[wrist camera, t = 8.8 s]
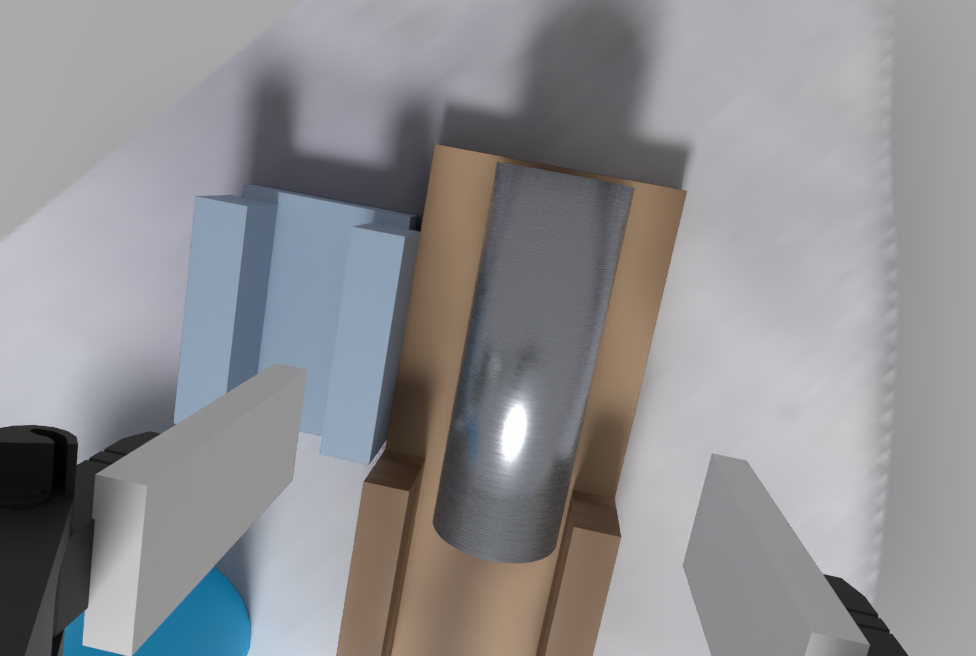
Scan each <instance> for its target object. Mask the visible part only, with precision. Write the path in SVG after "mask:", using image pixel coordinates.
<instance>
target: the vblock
mask: <svg viewBox="0 0 976 656" xmlns="http://www.w3.org/2000/svg"><path fill="white" fill-rule="evenodd" d="M417 217H418V216H417V215H411V214H406V213H401V212H396V211H391V210H385V209H380V208H375V207H370V206H364V205H359V204H354V203H349V202H344V201H338V200H333V199H328V198H323V197H318V196H312V195H307V194H302V193H297V192H291V191H286V190H281V189H276V188H271V187H265V186H260V185H244V193H243V197H238V196H233V195H222V196H196V199H195V209H194V219H193V229H192V239H191V250H190V260H189V270H188V280H187V290H186V301H185V311H184V321H183V331H182V341H181V351H180V362H179V372H178V382H177V392H176V402H175V413H174V423H176V424H178V423H179V422H181V421H183V420H184V419H186V418H187V417H189V416H191V415H192V414H194V413H195V412H197V411H199V410H200V409H202V408H204V407H205V406H207V405H208V404H210V403H212V402H213V401H215V400H216V399H218V398H220V397H221V396H223V395H224V394H226V393H228V392H229V391H231V390H233V389H234V388H236V387H237V386H239V385H241V384H242V383H244V382H245V381H247V380H249V379H250V378H252V377H254V376H255V375H257V374H258V373H260V372H262V371H263V370H265V369H266V368H268V367H270V366H271V365H273V364H275V363H277V364H282V365H287V366H292V367H297V368H301V369H306V370H307V377H306V384H305V391H304V399H303V406H302V413H301V421H300V428H299V431H300V432H304V433H309V434H314V435H318V436H322V440H321V447H320V454H321V455H325V456H330V457H335V458H339V459H344V460H349V461H353V462H358V463H363V464H367V465H369V464H370V463H371V461H372V460H373V458H374V457H375V455H376V454H377V453H378V451H379V450H380V448H381V447H382V445H383V444H384V442H385V441H386V439H387V435H388V429H389V423H390V417H391V411H392V405H393V398H394V392H395V386H396V380H397V374H398V368H399V362H400V355H401V349H402V343H403V337H404V331H405V325H406V319H407V312H408V306H409V300H410V294H411V288H412V282H413V276H414V269H415V263H416V257H417V251H418V245H419V239H420V233H421V232H419V231H415V229H416V223H417Z"/></svg>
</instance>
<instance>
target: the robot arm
mask: <svg viewBox="0 0 976 656" xmlns="http://www.w3.org/2000/svg"><path fill="white" fill-rule="evenodd" d="M306 377H307V370H306V369H301V368H297V367H292V366H287V365H282V364H277V363H275V364H273V365H271V366H270V367H268V368H266V369H265V370H263V371H262V372H260V373H258V374H257V375H255V376H254V377H252V378H250V379H249V380H247V381H245V382H244V383H242V384H241V385H239V386H237V387H236V388H234V389H233V390H231V391H229V392H228V393H226V394H224V395H223V396H221V397H220V398H218V399H216V400H215V401H213V402H212V403H210V404H208V405H207V406H205V407H204V408H202V409H200V410H199V411H197V412H195V413H194V414H192V415H191V416H189V417H187V418H186V419H184V420H183V421H181V422H179V423H178V424H176V425H174V426H173V427H171V428H170V429H168V430H166V431H165V432H163V433H162V434H159V433H155V432H150V431H149V432H146V433H142V434H138V435H134V436H130V437H127V438H123V439H121V440H120V441H118V442H116V443H114V444H113V445H111V446H109V447H107V448H106V449H105V450H104V452H103V451H101V452H99V453H97V454H95V455H94V456H92V457H90V459H89V461H88V460H85V461H83V462H81V463H80V464H78V465H77V451H78V442H77V437H76V436H74V435H73V434H71V433H70V432H68V431H65V430H62V429H58V428H55V427H48V426H38V425H23V426H9V427H3V428H0V656H63V650H64V636H65V628H66V627H67V626H68V625H69V624H70V623H72V622H73V621H74V620H75V619H76V618H77V617H78V616H79V615H80V614H82V613H83V612H84V611H85V617H84V631H83V644H82V645H83V646H88V647H92V648H96V649H100V650H105V651H109V652H113V653H117V654H122V655H126V656H132V655H133V654H134V653H135V652H136V651H137V650H138V649H139V648H140V647H141V646H142V645H143V643H144V642H145V641H146V640H147V639H148V638H149V637H150V636H151V635H152V634H153V632H154V631H155V630H156V629H157V628H158V627H159V626H160V625H161V624H162V623H163V622H164V620H165V619H166V618H167V617H168V616H169V615H170V614H171V613H172V612H173V611H174V609H175V608H176V607H177V606H178V605H179V604H180V603H181V602H182V601H183V600H184V599H185V597H186V596H187V595H188V594H189V593H190V592H191V591H192V590H193V589H194V588H195V587H196V585H197V584H198V583H199V582H200V581H201V580H202V579H203V578H204V577H205V576H206V574H207V573H208V572H209V571H210V570H211V569H212V568H213V567H214V566H215V565H216V564H217V562H218V561H219V560H220V559H221V558H222V557H223V556H224V555H225V554H226V553H227V551H228V550H229V549H230V548H231V547H232V546H233V545H234V544H235V543H236V542H237V541H238V539H239V538H240V537H241V536H242V535H243V534H244V533H245V532H246V531H247V530H248V529H249V527H250V526H251V525H252V524H253V523H254V522H255V521H256V520H257V519H258V518H259V516H260V515H261V514H262V513H263V512H264V511H265V510H266V509H267V508H268V507H269V506H270V504H271V503H272V502H273V501H274V500H275V499H276V498H277V497H278V496H279V495H280V493H281V492H282V491H283V490H284V489H285V488H286V487H287V486H288V485H289V484H290V483H291V481H292V479H293V472H294V465H295V457H296V450H297V443H298V435H299V428H300V421H301V413H302V406H303V399H304V391H305V384H306ZM683 568H684V571H685V574H686V577H687V580H688V583H689V586H690V590H691V593H692V596H693V599H694V602H695V605H696V609H697V612H698V615H699V618H700V621H701V624H702V627H703V631H704V634H705V637H706V640H707V643H708V646H709V649H710V653H711V656H908V655H907V653H906V652H905V650H904V649H903V648H902V646H901V645H900V644H899V642H898V641H897V640H896V638H895V637H894V636H893V634H889V631H890V630H889V629H888V627H887V626H886V625H885V623H884V622H883V621H882V619H880V618H878V614H877V612H876V611H875V610H874V608H873V607H872V606H871V604H870V603H869V602H868V600H867V599H866V597H865V596H863V595H862V594H861V593H860V592H858V591H857V590H856V589H855V588H853V587H852V586H851V585H849V584H848V583H847V582H846V581H844V580H843V579H842V578H839V577H834V576H829V575H825V574H822V572H821V571H820V569H819V568H818V566H817V565H816V563H815V562H814V560H813V559H812V557H811V556H810V554H809V553H808V551H807V550H806V548H805V547H804V545H803V544H802V542H801V541H800V540H799V538H798V537H797V535H796V534H795V532H794V531H793V529H792V528H791V526H790V525H789V523H788V522H787V520H786V519H785V517H784V516H783V514H782V513H781V511H780V510H779V508H778V507H777V505H776V504H775V502H774V501H773V499H772V498H771V496H770V495H769V493H768V492H767V490H766V489H765V487H764V486H763V484H762V483H761V481H760V480H759V478H758V477H757V475H756V474H755V472H754V471H753V469H752V468H751V466H750V465H749V463H748V462H747V461H746V460H741V459H736V458H731V457H726V456H722V455H717V454H712V456H711V459H710V463H709V467H708V471H707V475H706V478H705V482H704V486H703V490H702V494H701V498H700V501H699V505H698V509H697V513H696V517H695V520H694V524H693V528H692V532H691V536H690V540H689V543H688V547H687V551H686V555H685V559H684V562H683Z"/></svg>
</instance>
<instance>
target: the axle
mask: <svg viewBox="0 0 976 656" xmlns="http://www.w3.org/2000/svg"><path fill="white" fill-rule="evenodd" d="M634 190H635V188H634V187H630V186H625V185H621V184H616V183H611V182H606V181H600V180H595V179H590V178H585V177H580V176H574V175H569V174H563V173H558V172H553V171H547V170H541V169H536V168H530V167H525V166H519V165H513V164H507V163H500V162H497V165H496V170H495V176H494V181H493V187H492V193H491V198H490V204H489V209H488V215H487V220H486V226H485V231H484V237H483V243H482V248H481V254H480V259H479V265H478V270H477V276H476V281H475V287H474V292H473V298H472V304H471V309H470V315H469V320H468V326H467V331H466V337H465V342H464V348H463V353H462V359H461V365H460V370H459V376H458V381H457V387H456V392H455V398H454V403H453V409H452V414H451V420H450V426H449V431H448V437H447V442H446V448H445V453H444V459H443V464H442V470H441V475H440V481H439V487H438V492H437V498H436V503H435V509H434V514H433V526H434V529H435V531H436V532H437V534H438V535H439V536H440V537H441V538H442V539H443V540H444V541H445V542H447V543H448V544H449V545H451V546H453V547H454V548H456V549H458V550H460V551H462V552H464V553H466V554H469V555H471V556H474V557H477V558H480V559H484V560H488V561H494V562H500V563H513V564H517V563H530V562H534V561H538V560H541V559H544V558H546V557H547V556H549V555H550V554H551V553H552V552H553V551H554V550H555V548H556V545H557V540H558V535H559V531H560V526H561V522H562V517H563V513H564V508H565V504H566V499H567V495H568V490H569V485H570V481H571V476H572V472H573V467H574V463H575V458H576V454H577V449H578V445H579V440H580V435H581V431H582V426H583V422H584V417H585V413H586V408H587V404H588V399H589V395H590V390H591V386H592V381H593V376H594V372H595V367H596V363H597V358H598V354H599V349H600V345H601V340H602V336H603V331H604V326H605V322H606V317H607V313H608V308H609V304H610V299H611V295H612V290H613V286H614V281H615V276H616V272H617V267H618V263H619V258H620V254H621V249H622V245H623V240H624V236H625V231H626V226H627V222H628V217H629V213H630V208H631V204H632V199H633V195H634Z"/></svg>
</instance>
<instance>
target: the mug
mask: <svg viewBox="0 0 976 656" xmlns="http://www.w3.org/2000/svg"><path fill="white" fill-rule="evenodd" d="M84 617H85V611H84V612H83V613H82V614H80V615H79V616H78V617H77V618H76V619H75V620H74V621H73V622H72V623H70V624H69V625H68V626H67V627H66V628H65V636H64V650H63V656H126V655H122V654H117V653H113V652H109V651H105V650H100V649H96V648H92V647H88V646H83V645H82V644H83V631H84ZM250 625H251V624H250V621H249V618H248V614H247V611H246V608H245V605H244V602H243V600H242V598H241V597H240V595H239V594H238V592H237V591H236V589H235V588H234V586H233V585H232V583H231V582H230V580H229V579H228V578H227V577H225V576H224V575H223V574H222V573H221V572H219V571H218V570H217V569H216V568H215V567H213V568H212V569H211V570H210V571H209V572H208V573H207V574H206V576H205V577H204V578H203V579H202V580H201V581H200V582H199V583H198V584H197V585H196V587H195V588H194V589H193V590H192V591H191V592H190V593H189V594H188V595H187V596H186V597H185V599H184V600H183V601H182V602H181V603H180V604H179V605H178V606H177V607H176V608H175V609H174V611H173V612H172V613H171V614H170V615H169V616H168V617H167V618H166V619H165V620H164V622H163V623H162V624H161V625H160V626H159V627H158V628H157V629H156V630H155V631H154V632H153V634H152V635H151V636H150V637H149V638H148V639H147V640H146V641H145V642H144V643H143V645H142V646H141V647H140V648H139V649H138V650H137V651H136V652H135V653H134V654H133V655H132V656H247V654H248V651H249V649H250Z"/></svg>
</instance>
